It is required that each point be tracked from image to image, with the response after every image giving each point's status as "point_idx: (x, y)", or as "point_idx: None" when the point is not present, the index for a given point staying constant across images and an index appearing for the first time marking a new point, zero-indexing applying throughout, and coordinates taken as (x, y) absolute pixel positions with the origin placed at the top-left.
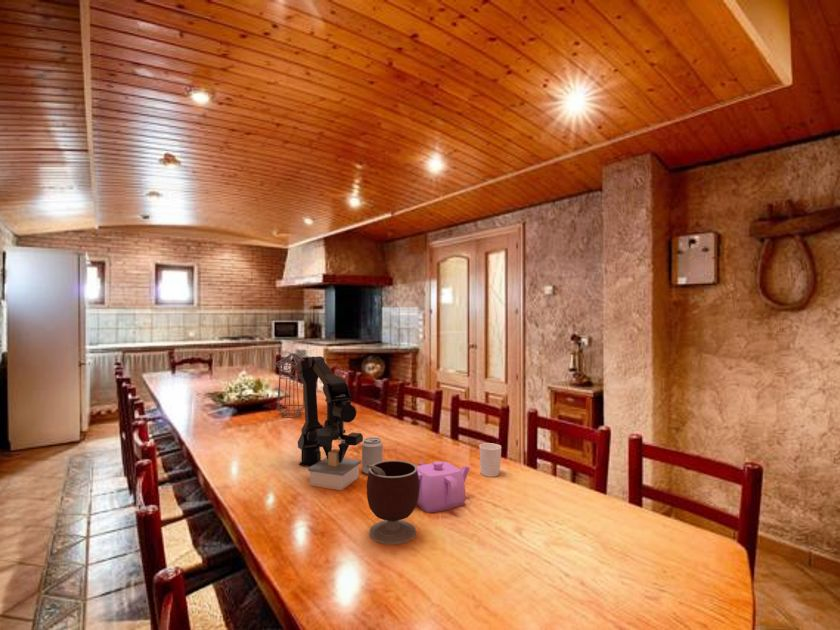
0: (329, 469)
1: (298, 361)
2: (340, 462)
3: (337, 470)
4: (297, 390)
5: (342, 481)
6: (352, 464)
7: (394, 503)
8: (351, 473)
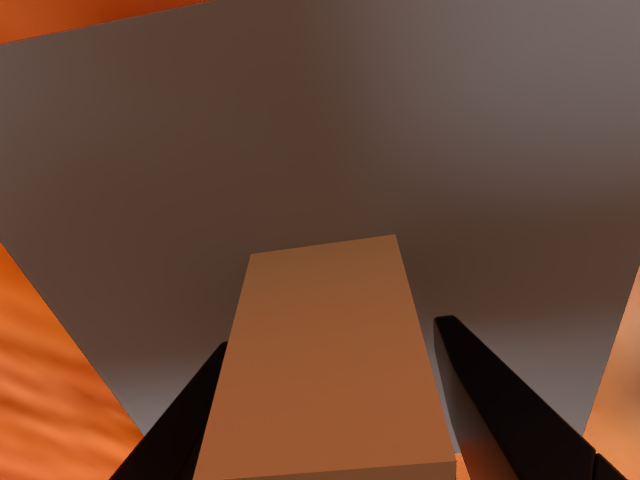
0: (232, 89)
1: None
2: (221, 344)
3: (67, 124)
4: None
5: None
6: (132, 385)
7: None
8: None
